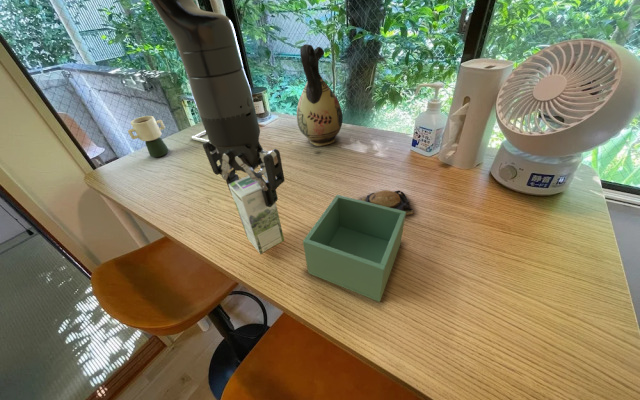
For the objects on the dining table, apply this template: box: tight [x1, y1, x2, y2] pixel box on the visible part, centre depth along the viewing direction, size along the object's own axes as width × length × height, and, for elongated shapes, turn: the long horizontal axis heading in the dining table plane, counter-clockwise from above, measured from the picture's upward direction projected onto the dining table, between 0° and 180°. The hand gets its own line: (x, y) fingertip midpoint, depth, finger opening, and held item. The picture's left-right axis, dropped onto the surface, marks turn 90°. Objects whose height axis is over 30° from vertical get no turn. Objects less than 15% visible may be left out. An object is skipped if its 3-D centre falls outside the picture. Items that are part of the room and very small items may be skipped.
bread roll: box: [361, 189, 414, 216], centre depth 59 cm, size 11×8×4 cm
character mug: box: [127, 115, 170, 158], centre depth 88 cm, size 11×7×13 cm, turn 137°
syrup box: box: [227, 174, 285, 255], centre depth 48 cm, size 6×6×14 cm
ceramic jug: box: [296, 43, 344, 147], centre depth 80 cm, size 17×15×30 cm
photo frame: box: [191, 130, 209, 143], centre depth 100 cm, size 15×1×18 cm
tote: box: [302, 194, 407, 303], centre depth 46 cm, size 14×14×9 cm
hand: (254, 198), depth 46 cm, fingers closed on syrup box, 7 cm apart
